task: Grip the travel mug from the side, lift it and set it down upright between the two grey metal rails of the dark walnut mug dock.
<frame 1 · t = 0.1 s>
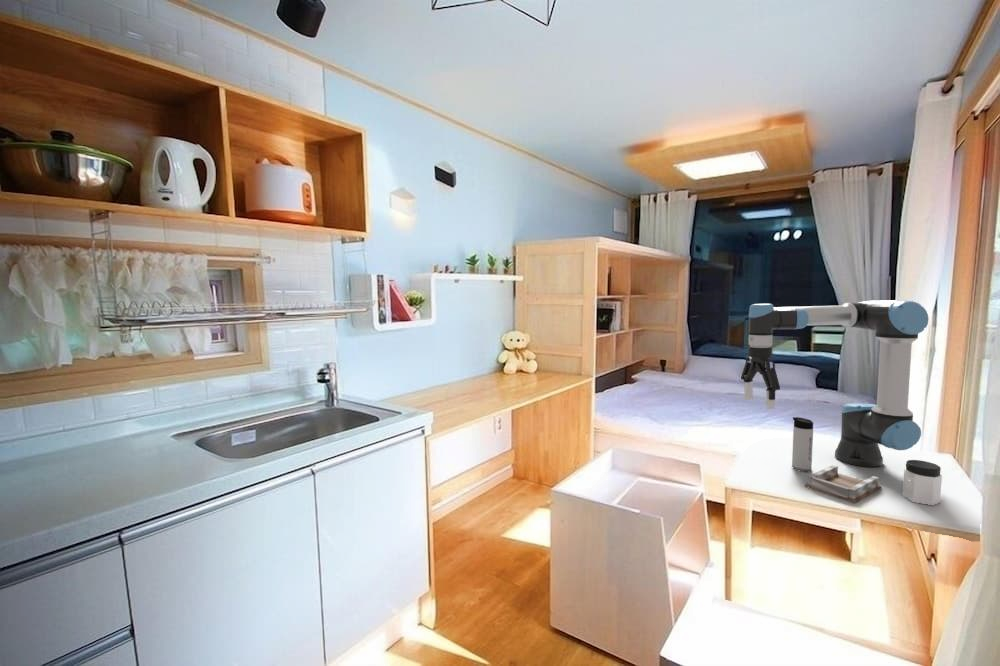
hand: (758, 403, 164), 28 cm above the table, tool pointing down, fingers open, 13 cm apart
travel mug: (801, 469, 173), on the table
mug dock: (842, 487, 156), on the table
jar: (920, 500, 146), on the table
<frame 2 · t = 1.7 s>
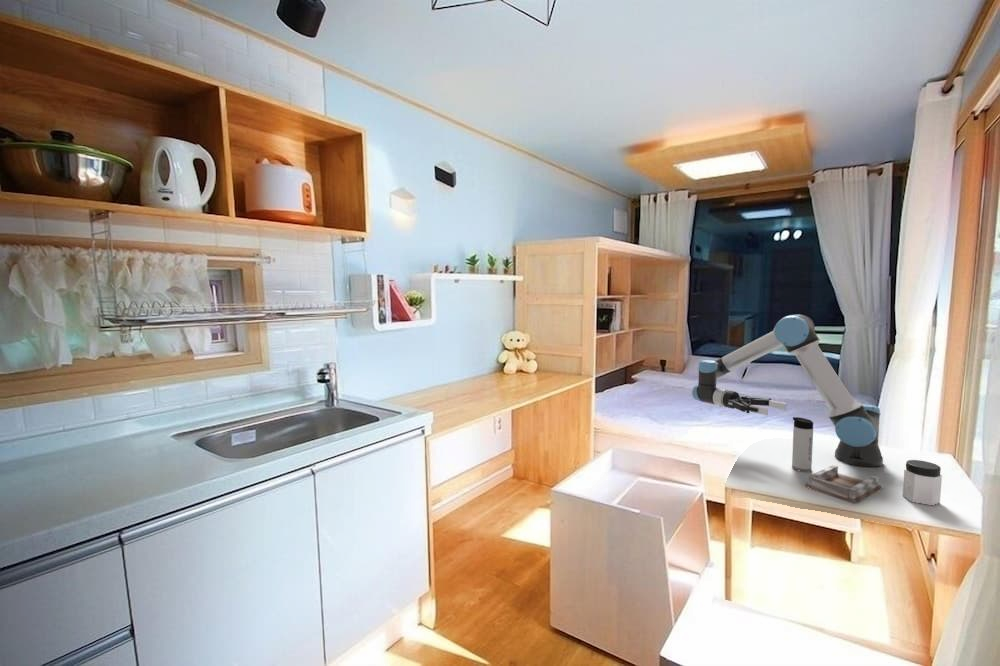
hand: (776, 409, 179), 21 cm above the table, tool horizontal, fingers open, 13 cm apart
nothing on the table moved.
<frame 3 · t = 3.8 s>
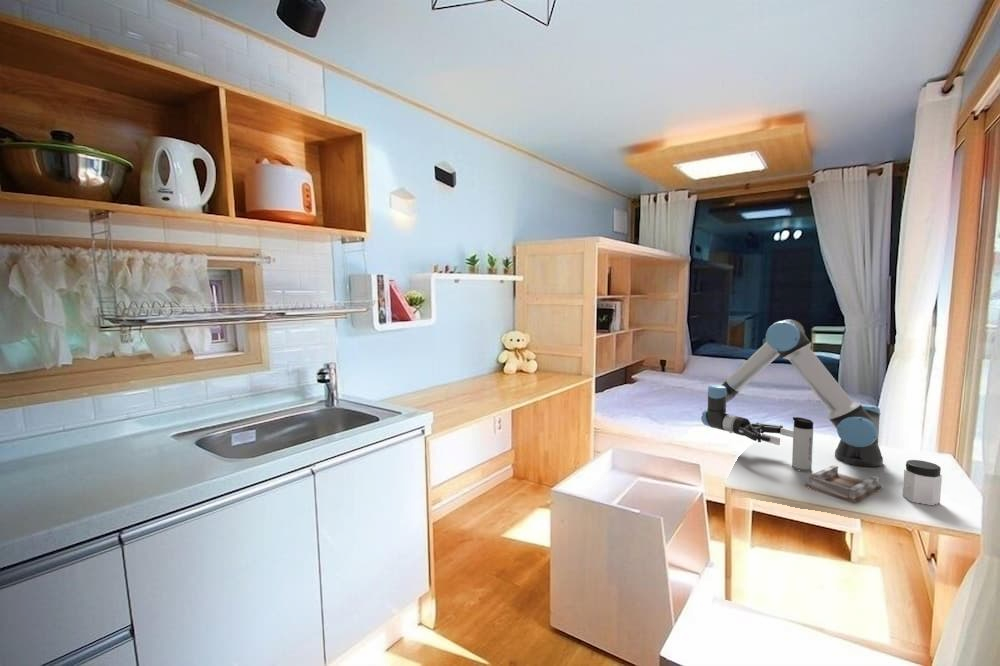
hand: (788, 438, 176), 11 cm above the table, tool horizontal, fingers open, 13 cm apart
nothing on the table moved.
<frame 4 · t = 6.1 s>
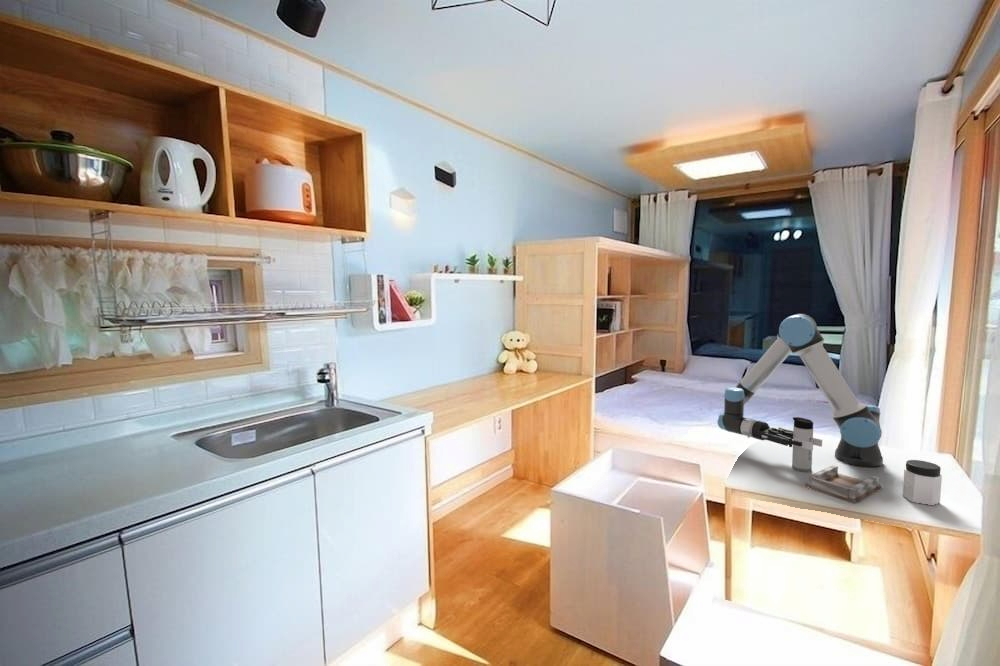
hand: (817, 444, 167), 11 cm above the table, tool horizontal, fingers closed on travel mug, 6 cm apart
travel mug: (801, 469, 173), on the table, touching gripper
everything else where it was.
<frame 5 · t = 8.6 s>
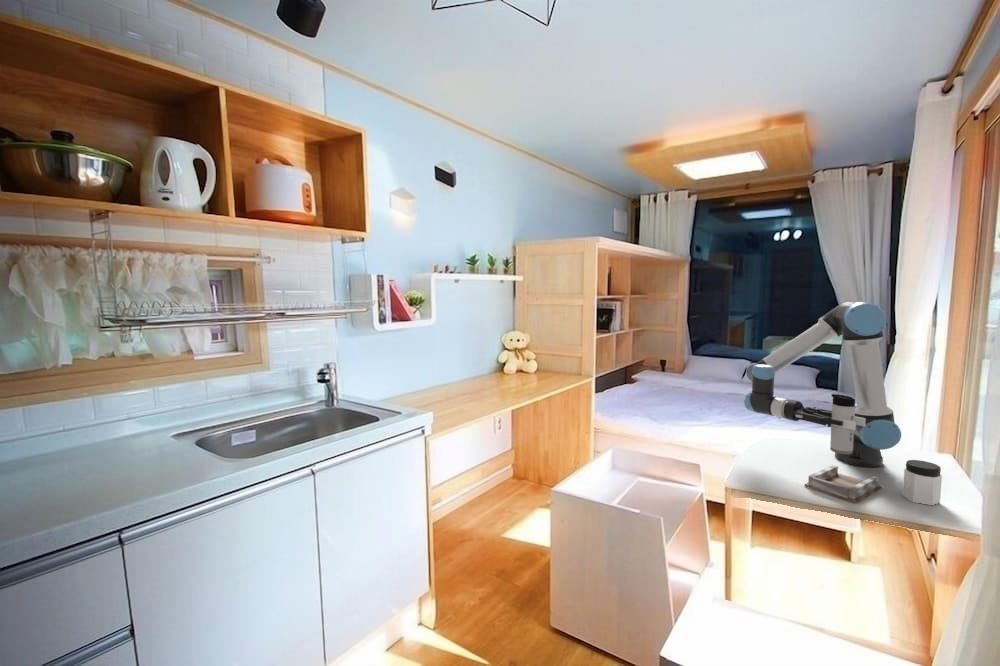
hand: (859, 424, 150), 24 cm above the table, tool horizontal, fingers closed on travel mug, 6 cm apart
travel mug: (840, 451, 156), point 13 cm above the table, touching gripper
everything else where it was.
when the fingers open (13 cm above the table, at t = 11.4 s): travel mug drops 1 cm, resting on mug dock.
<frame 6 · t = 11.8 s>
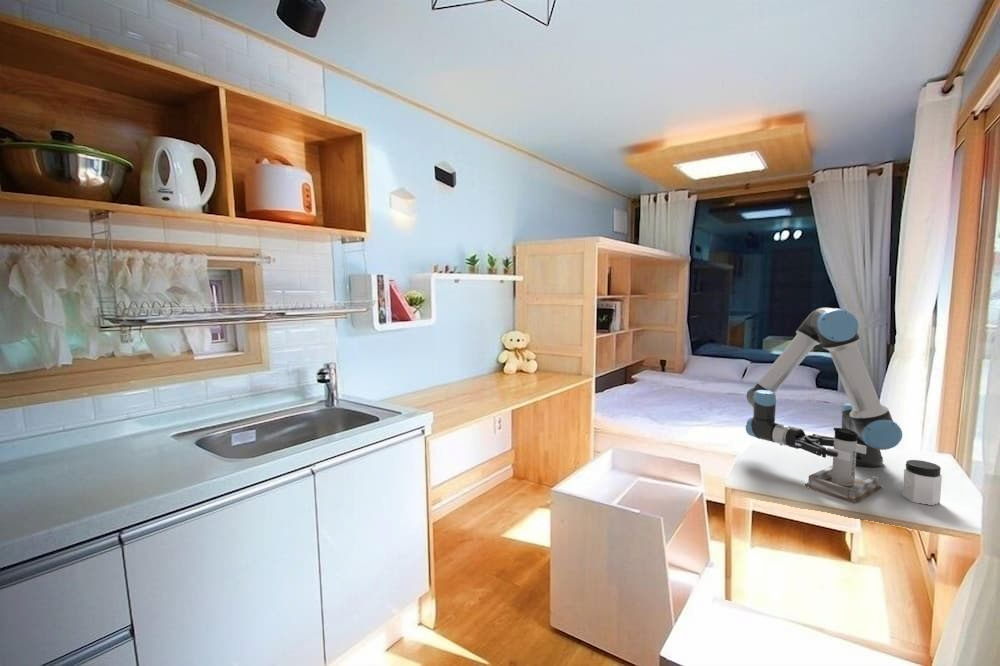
hand: (858, 453, 151), 13 cm above the table, tool horizontal, fingers open, 11 cm apart
travel mug: (842, 485, 156), point 1 cm above the table, touching mug dock
everything else where it was.
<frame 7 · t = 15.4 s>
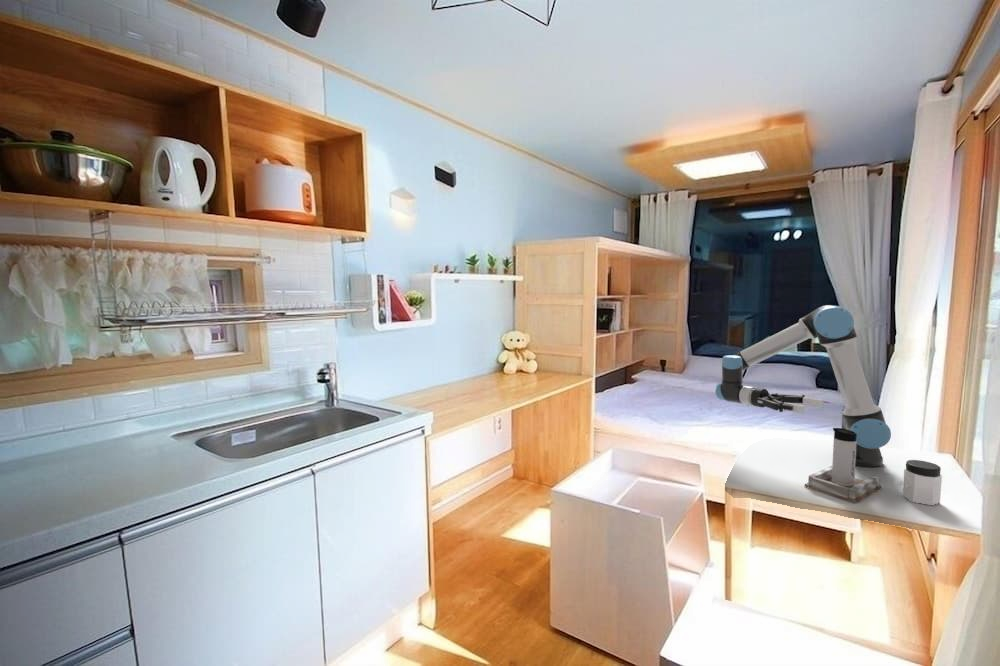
hand: (813, 406, 162), 27 cm above the table, tool horizontal, fingers open, 13 cm apart
nothing on the table moved.
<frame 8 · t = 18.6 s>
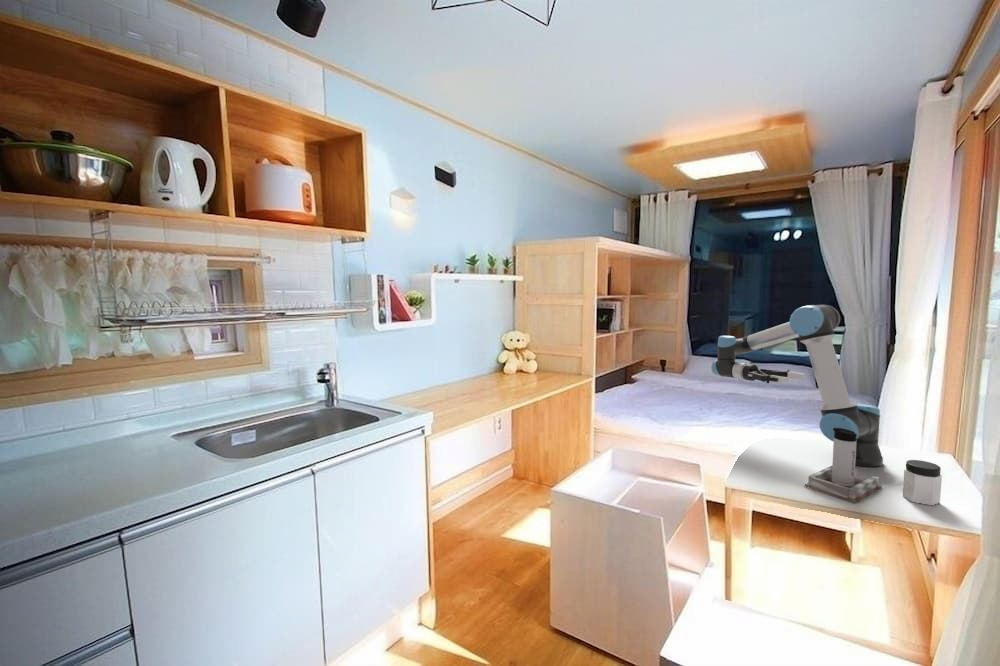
hand: (795, 378, 186), 32 cm above the table, tool horizontal, fingers open, 13 cm apart
nothing on the table moved.
at the end: travel mug inside the target area on the mug dock (0.3 cm from its centre), point 0.8 cm above the mug dock's base; travel mug tilted 0°; the gripper is holding nothing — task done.
